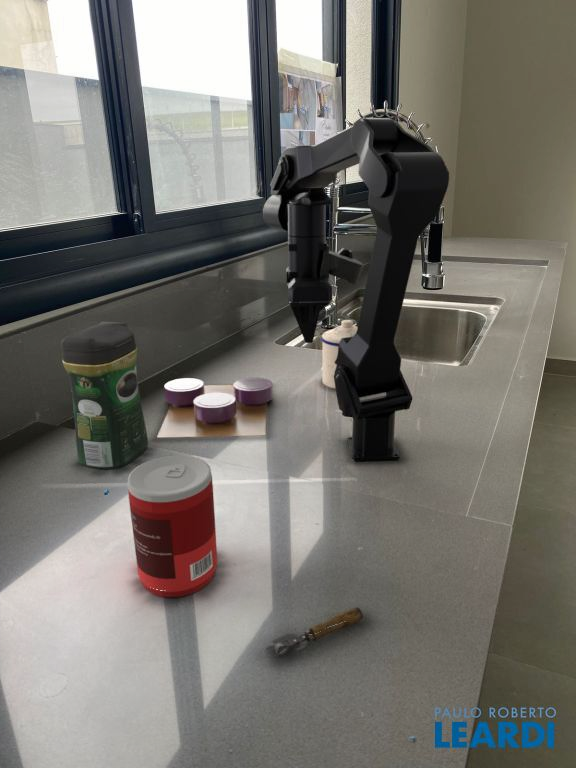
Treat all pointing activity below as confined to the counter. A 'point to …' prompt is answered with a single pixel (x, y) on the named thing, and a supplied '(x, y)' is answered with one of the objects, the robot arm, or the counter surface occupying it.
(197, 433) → the placemat
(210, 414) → the plum dish bottom
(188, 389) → the purple hockey puck
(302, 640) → the can opener
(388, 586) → the counter surface
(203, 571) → the canned food
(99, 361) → the coffee jar
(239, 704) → the counter surface
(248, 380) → the purple puck
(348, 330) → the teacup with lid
